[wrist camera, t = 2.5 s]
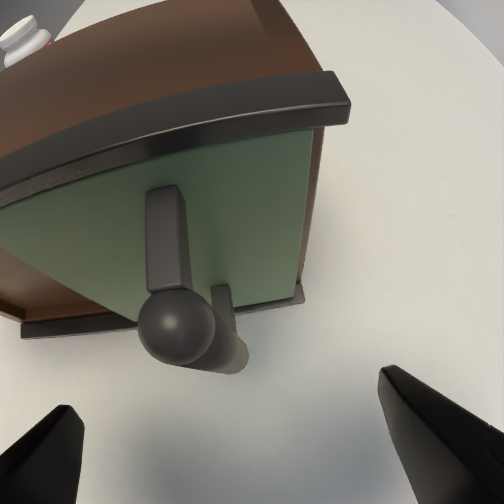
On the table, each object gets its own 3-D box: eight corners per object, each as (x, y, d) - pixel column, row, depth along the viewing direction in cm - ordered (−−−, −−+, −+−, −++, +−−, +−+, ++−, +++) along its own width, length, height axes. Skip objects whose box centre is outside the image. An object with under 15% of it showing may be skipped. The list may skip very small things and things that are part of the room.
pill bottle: (63, 108, 28) (16, 34, 18) (28, 117, 29) (-18, 53, 19) (84, 74, 31) (48, 4, 20) (49, 84, 31) (12, 22, 21)
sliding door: (307, 364, 16) (374, 321, 5) (140, 386, 16) (-51, 362, 5) (292, 286, 18) (306, 110, 6) (134, 312, 18) (-30, 206, 6)
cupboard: (304, 302, 18) (353, 102, 5) (24, 339, 19) (-138, 271, 5) (278, 185, 22) (266, -27, 8) (31, 240, 22) (-90, 136, 9)
